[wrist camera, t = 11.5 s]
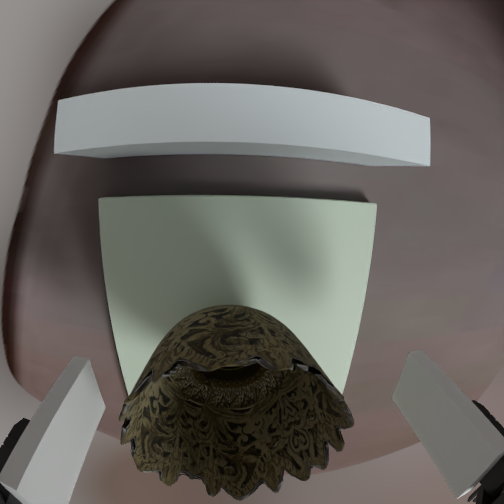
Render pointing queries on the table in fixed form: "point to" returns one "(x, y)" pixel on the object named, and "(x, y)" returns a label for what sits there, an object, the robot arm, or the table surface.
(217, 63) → the table surface
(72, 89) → the table surface
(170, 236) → the green pad
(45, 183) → the table surface
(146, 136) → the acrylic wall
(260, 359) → the cup
